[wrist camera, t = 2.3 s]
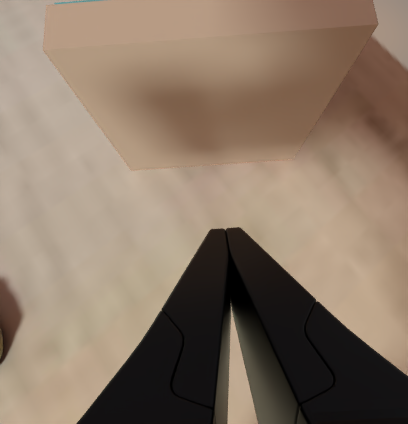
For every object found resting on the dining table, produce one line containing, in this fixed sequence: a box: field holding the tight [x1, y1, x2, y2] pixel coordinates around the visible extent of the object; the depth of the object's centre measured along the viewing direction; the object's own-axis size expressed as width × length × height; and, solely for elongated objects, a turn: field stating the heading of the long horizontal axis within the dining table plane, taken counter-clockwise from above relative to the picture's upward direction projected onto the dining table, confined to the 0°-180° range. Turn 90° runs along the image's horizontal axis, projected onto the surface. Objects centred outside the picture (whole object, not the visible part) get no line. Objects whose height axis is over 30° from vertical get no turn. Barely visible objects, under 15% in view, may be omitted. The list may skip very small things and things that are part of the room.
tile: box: [43, 0, 378, 171], centre depth 17 cm, size 2×12×12 cm, turn 94°
